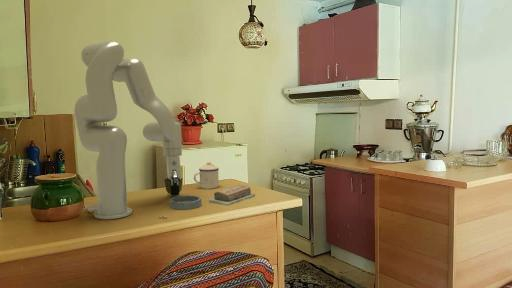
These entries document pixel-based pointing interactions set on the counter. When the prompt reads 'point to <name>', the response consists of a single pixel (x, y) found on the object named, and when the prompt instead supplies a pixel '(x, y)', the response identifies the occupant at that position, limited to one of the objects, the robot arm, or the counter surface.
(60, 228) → the counter surface
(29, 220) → the counter surface
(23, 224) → the counter surface
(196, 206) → the blue-grey plate
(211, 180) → the teacup with lid
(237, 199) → the packaged product
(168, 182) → the dark rounded textured piece
